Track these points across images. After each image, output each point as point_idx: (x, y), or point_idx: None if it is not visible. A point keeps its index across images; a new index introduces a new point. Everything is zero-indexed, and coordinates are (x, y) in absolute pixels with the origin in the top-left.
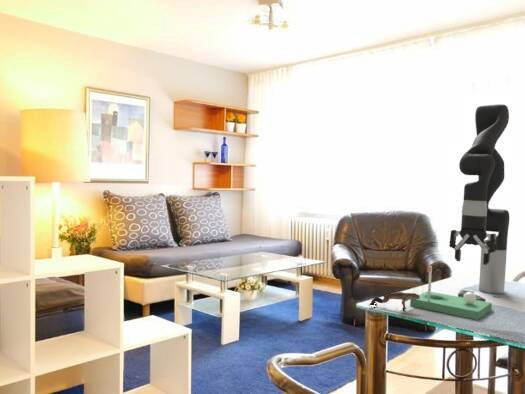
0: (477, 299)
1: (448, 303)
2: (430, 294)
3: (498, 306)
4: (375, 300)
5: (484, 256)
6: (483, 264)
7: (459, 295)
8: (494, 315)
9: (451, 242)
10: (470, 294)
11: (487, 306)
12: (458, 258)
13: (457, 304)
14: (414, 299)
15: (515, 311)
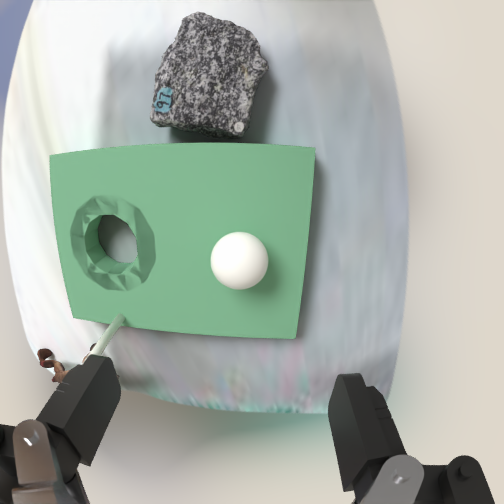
0: (245, 124)
1: (177, 302)
2: (114, 330)
3: (317, 61)
4: (56, 381)
5: (346, 468)
6: (328, 407)
7: (160, 124)
8: (332, 226)
9: (8, 489)
10: (245, 285)
11: (309, 218)
12: (113, 411)
13: (207, 293)
14: (84, 319)
15: (384, 103)
